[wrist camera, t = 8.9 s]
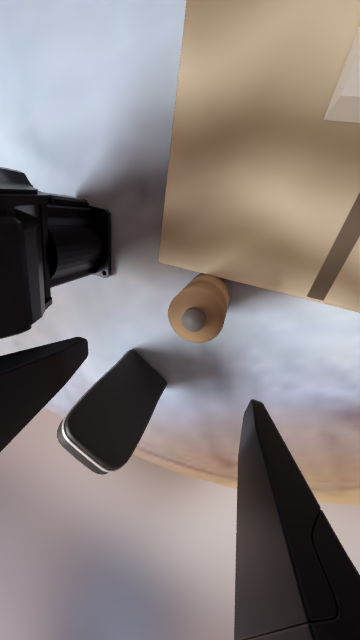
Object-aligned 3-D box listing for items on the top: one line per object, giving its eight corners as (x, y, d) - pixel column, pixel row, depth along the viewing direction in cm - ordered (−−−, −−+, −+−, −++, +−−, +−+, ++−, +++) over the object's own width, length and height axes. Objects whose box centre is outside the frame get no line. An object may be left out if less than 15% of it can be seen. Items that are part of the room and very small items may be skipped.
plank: (406, 318, 15) (420, 327, 14) (164, 259, 19) (157, 262, 18) (749, -99, 7) (863, -173, 6) (203, -55, 11) (196, -93, 10)
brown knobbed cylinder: (224, 316, 20) (214, 354, 14) (186, 305, 20) (162, 337, 15) (236, 277, 18) (230, 302, 12) (193, 266, 18) (169, 286, 13)
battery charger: (117, 360, 27) (41, 438, 17) (131, 345, 25) (55, 424, 15) (154, 394, 28) (101, 487, 18) (170, 382, 26) (122, 480, 16)
